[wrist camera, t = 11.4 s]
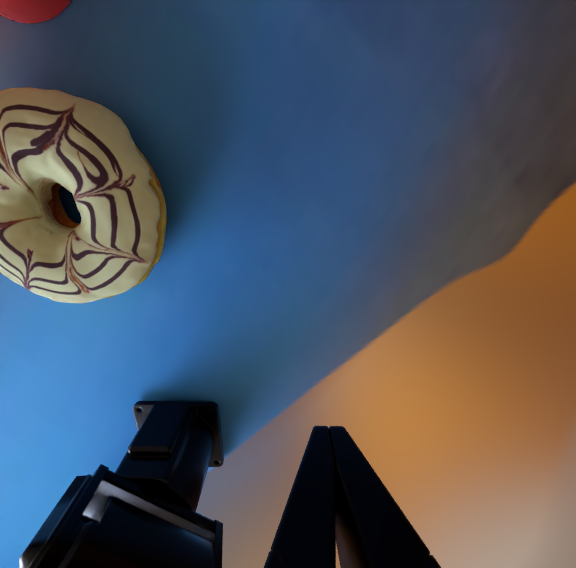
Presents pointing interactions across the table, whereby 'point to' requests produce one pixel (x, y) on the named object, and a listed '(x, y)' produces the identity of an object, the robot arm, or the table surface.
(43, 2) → the red can
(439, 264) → the table surface
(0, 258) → the decorated donut
